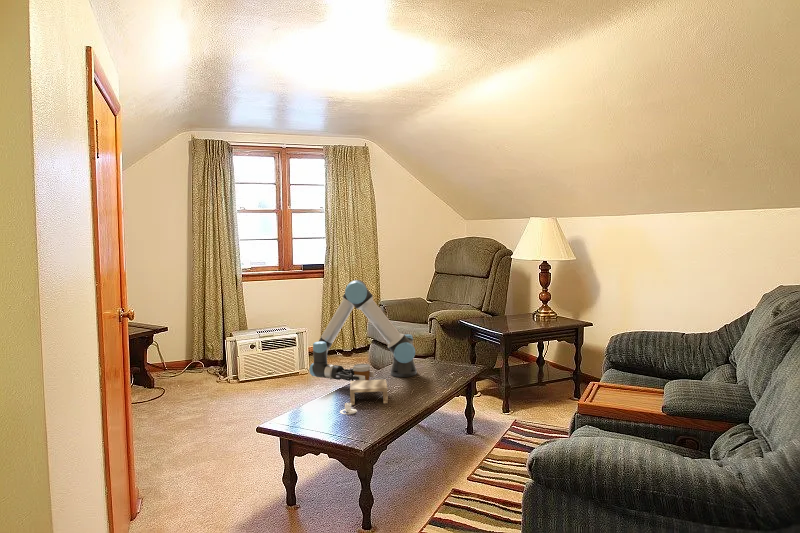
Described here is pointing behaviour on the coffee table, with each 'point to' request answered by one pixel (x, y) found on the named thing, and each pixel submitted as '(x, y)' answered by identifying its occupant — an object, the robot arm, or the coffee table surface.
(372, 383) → the maple shelf
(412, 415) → the coffee table surface
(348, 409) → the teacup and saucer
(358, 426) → the coffee table surface
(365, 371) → the disposable coffee cup
